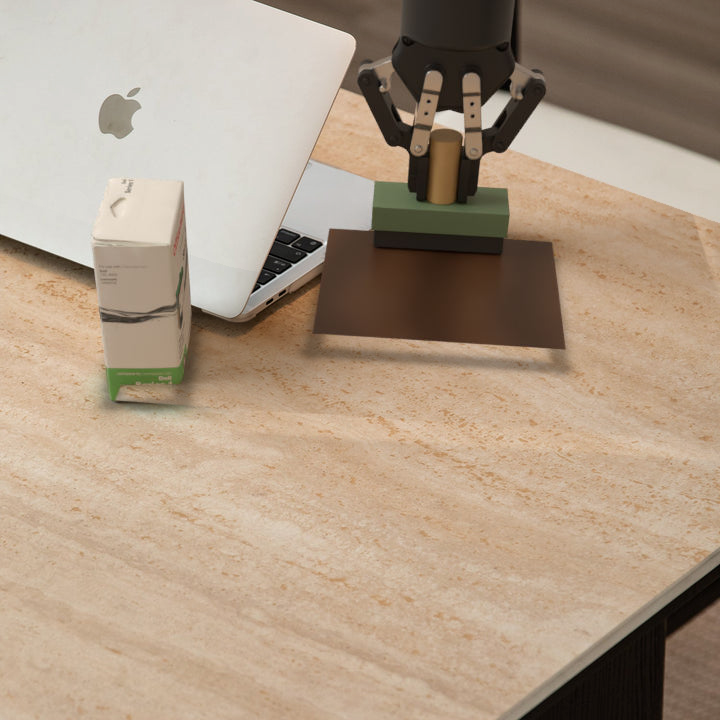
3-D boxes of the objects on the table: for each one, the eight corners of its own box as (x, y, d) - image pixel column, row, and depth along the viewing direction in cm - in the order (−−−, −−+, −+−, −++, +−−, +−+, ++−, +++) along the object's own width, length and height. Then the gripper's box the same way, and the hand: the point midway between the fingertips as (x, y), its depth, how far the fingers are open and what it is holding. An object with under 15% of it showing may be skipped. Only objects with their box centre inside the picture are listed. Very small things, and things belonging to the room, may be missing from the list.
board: (549, 258, 95) (552, 241, 94) (562, 366, 84) (565, 348, 83) (328, 244, 96) (329, 227, 95) (312, 351, 84) (312, 332, 84)
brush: (502, 228, 95) (514, 127, 90) (504, 255, 92) (517, 152, 87) (372, 221, 96) (377, 119, 91) (370, 247, 92) (375, 144, 87)
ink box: (183, 403, 79) (173, 244, 72) (105, 402, 79) (87, 243, 72) (194, 326, 86) (186, 174, 79) (122, 325, 86) (108, 173, 79)
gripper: (351, -22, 79) (344, 216, 89) (572, -10, 78) (538, 228, 89) (358, -60, 85) (350, 167, 95) (562, -49, 84) (532, 178, 95)
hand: (441, 195), depth 92 cm, fingers closed on brush, 2 cm apart
